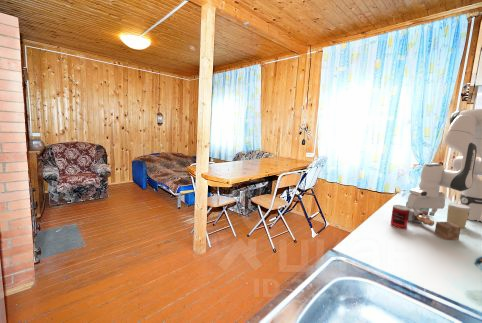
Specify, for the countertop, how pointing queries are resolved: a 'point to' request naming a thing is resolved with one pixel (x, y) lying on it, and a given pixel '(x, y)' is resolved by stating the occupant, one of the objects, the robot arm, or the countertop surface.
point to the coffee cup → (457, 214)
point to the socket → (447, 230)
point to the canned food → (400, 216)
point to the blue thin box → (421, 209)
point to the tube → (424, 220)
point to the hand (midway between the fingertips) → (424, 215)
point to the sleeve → (411, 216)
